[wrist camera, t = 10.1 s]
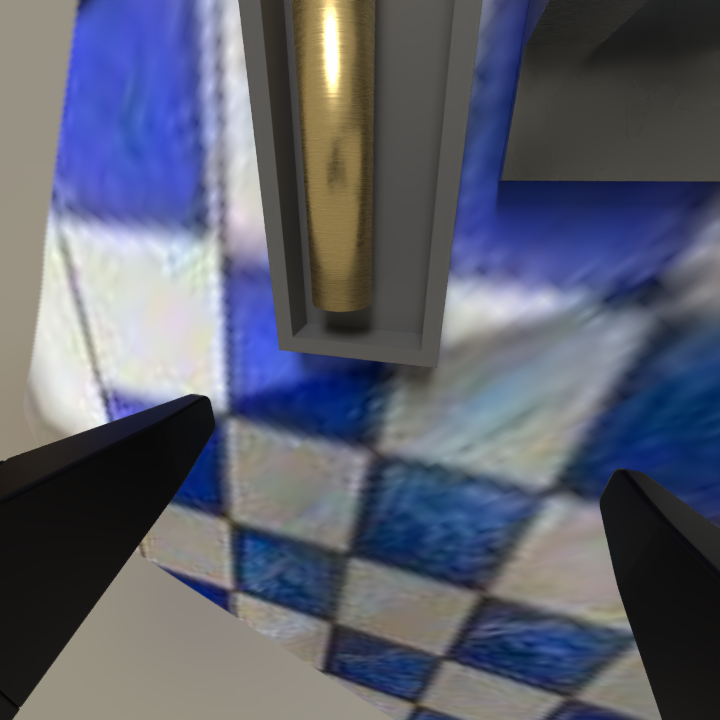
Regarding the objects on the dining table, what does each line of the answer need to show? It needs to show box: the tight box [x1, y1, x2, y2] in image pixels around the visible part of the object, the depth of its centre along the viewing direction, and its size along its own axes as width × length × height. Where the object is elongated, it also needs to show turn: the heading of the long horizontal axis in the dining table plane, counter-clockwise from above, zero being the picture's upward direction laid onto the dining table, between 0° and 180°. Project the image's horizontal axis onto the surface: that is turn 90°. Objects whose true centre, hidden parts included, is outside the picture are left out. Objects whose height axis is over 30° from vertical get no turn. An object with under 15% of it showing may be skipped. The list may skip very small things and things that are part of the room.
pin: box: [292, 0, 375, 312], centre depth 13 cm, size 13×3×3 cm
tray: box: [238, 0, 482, 368], centre depth 14 cm, size 8×19×2 cm, turn 179°
